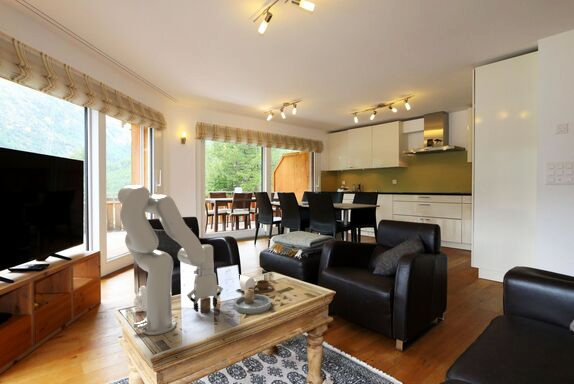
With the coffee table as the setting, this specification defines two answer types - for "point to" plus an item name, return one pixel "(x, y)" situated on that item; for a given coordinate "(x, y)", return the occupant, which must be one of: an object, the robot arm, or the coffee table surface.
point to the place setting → (262, 286)
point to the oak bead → (249, 296)
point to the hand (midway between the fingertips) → (205, 308)
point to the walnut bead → (205, 305)
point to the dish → (258, 306)
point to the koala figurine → (141, 299)
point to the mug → (247, 282)
